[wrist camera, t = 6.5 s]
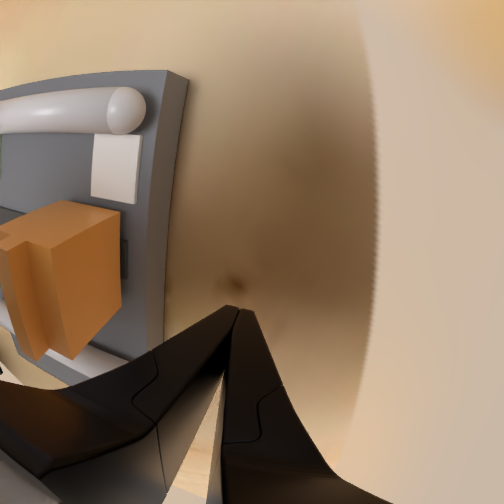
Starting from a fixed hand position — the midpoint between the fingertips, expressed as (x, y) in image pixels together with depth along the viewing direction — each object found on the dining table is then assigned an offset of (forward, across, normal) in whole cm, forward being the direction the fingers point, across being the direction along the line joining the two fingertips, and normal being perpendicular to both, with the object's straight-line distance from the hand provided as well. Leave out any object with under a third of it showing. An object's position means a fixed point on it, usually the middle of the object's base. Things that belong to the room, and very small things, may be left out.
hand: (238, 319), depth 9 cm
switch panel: (+4, +10, +2) cm, 11 cm away
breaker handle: (+1, +6, 0) cm, 7 cm away
